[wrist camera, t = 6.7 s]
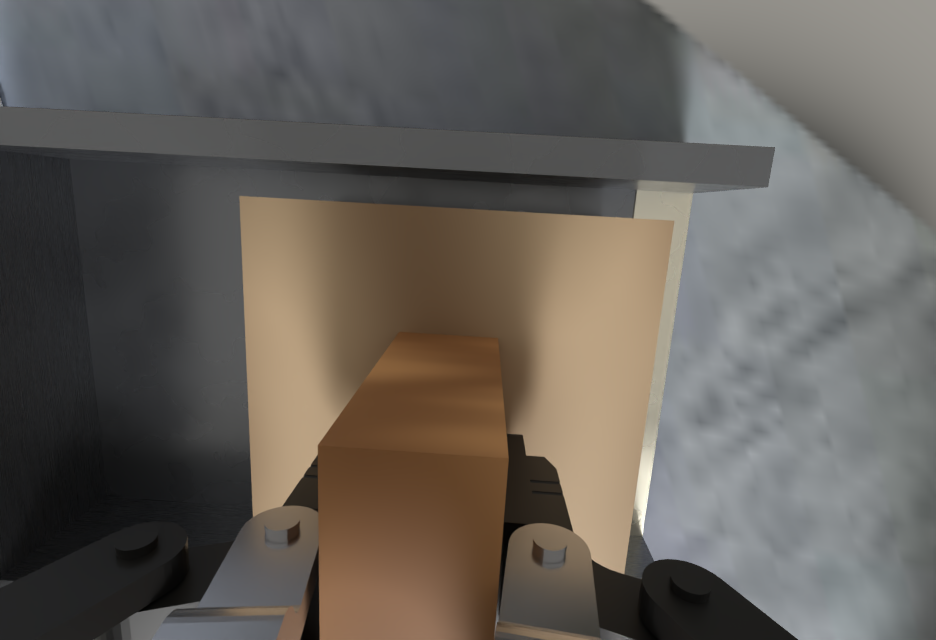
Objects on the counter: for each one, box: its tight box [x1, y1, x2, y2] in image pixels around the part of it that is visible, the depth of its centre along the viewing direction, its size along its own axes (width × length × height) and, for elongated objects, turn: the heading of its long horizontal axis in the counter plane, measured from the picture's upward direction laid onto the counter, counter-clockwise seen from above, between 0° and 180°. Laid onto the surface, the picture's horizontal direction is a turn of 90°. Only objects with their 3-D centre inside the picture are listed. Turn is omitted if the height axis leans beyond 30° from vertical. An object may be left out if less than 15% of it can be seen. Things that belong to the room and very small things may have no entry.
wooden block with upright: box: [239, 196, 674, 640], centre depth 13 cm, size 10×12×13 cm
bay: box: [0, 106, 775, 588], centre depth 17 cm, size 24×16×8 cm, turn 87°
